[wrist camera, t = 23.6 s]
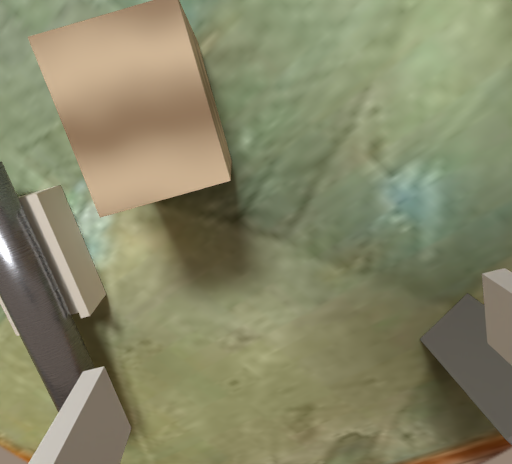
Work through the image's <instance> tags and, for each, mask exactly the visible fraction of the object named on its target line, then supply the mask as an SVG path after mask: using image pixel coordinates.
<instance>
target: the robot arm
mask: <svg viewBox="0 0 512 464" xmlns="http://www.w3.org/2000/svg"><path fill="white" fill-rule="evenodd" d="M482 281H483V294H484V307H485V319H486V332H487V343H488V344H489V345H490V346H491V347H492V348H493V349H494V350H495V351H497V352H498V353H499V354H500V355H501V356H502V357H503V358H504V359H505V360H506V361H507V362H508V363H510V364H511V365H512V272H511V271H509V270H507V269H505V268H503V269H499V270H494V271H490V272H486V273H482ZM130 431H131V426H130V424H129V422H128V419H127V417H126V415H125V412H124V410H123V408H122V405H121V403H120V401H119V399H118V396H117V394H116V392H115V389H114V387H113V385H112V382H111V380H110V378H109V376H108V373H107V371H106V369H105V366H103V367H99V368H95V369H91V370H87V371H83V372H82V374H81V376H80V377H79V379H78V381H77V382H76V384H75V386H74V387H73V389H72V391H71V392H70V394H69V396H68V398H67V399H66V401H65V403H64V404H63V406H62V408H61V409H60V411H59V413H58V414H57V416H56V418H55V419H54V421H53V423H52V425H51V426H50V428H49V430H48V431H47V433H46V435H45V436H44V438H43V440H42V441H41V443H40V445H39V446H38V448H37V450H36V452H35V453H34V455H33V457H32V458H31V460H30V462H29V463H28V464H120V461H121V458H122V455H123V452H124V449H125V446H126V443H127V440H128V437H129V434H130Z"/></svg>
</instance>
